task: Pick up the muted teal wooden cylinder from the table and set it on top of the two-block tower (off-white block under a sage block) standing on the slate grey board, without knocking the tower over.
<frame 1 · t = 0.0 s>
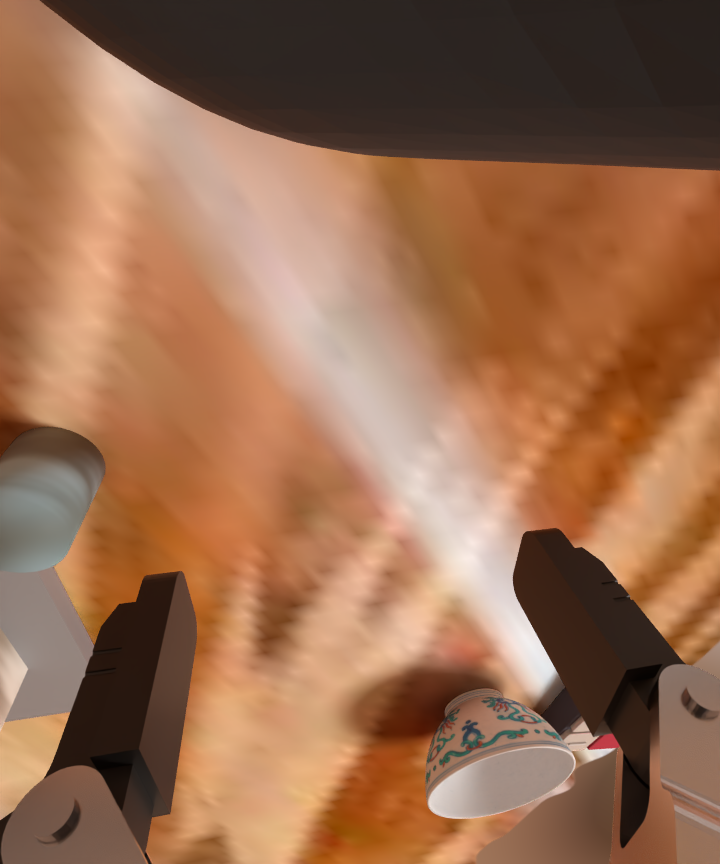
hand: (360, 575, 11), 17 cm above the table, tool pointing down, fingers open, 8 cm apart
cylinder: (58, 463, 27), on the table
chinaware: (472, 702, 52), on the table
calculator: (596, 686, 56), on the table
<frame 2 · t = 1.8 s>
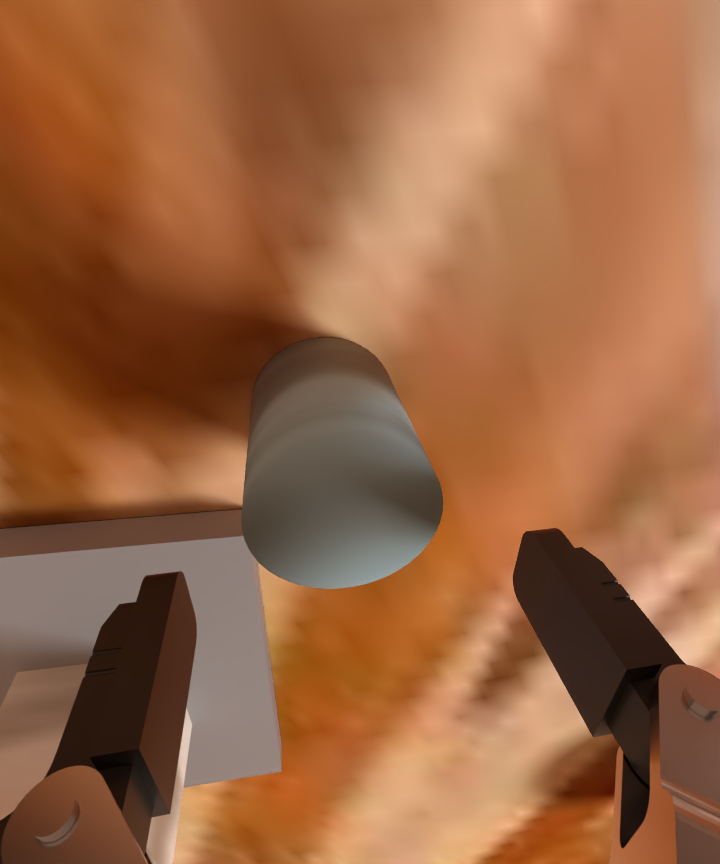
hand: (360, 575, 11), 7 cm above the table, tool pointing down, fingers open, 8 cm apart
cylinder: (324, 404, 17), on the table
base block: (112, 701, 21), point 1 cm above the table, touching top block, tower board
tower board: (121, 669, 23), on the table
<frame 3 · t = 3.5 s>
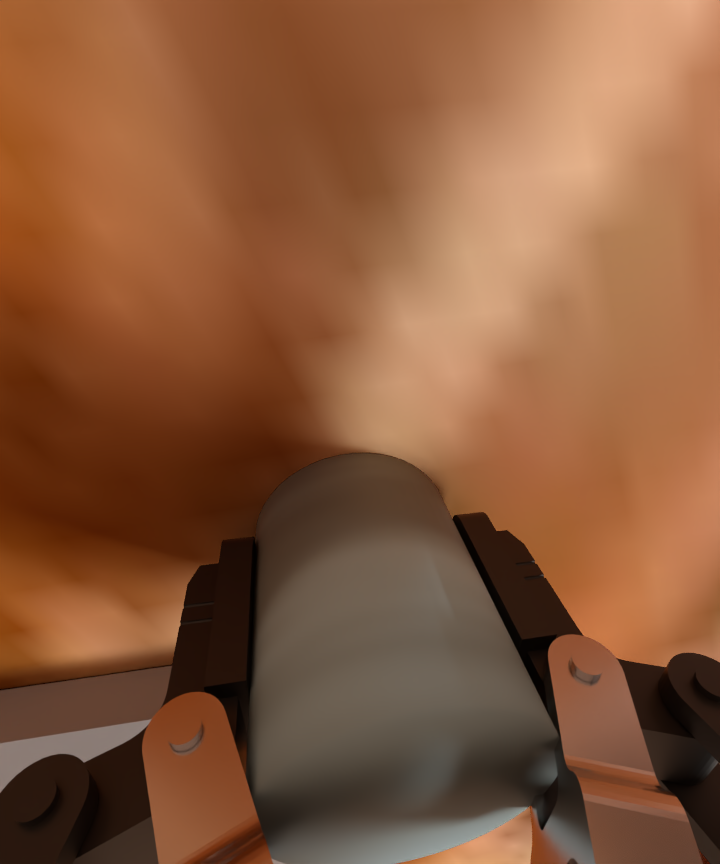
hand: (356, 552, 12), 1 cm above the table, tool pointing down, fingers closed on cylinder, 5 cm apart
cylinder: (352, 532, 12), on the table, touching gripper
tower board: (99, 829, 18), on the table
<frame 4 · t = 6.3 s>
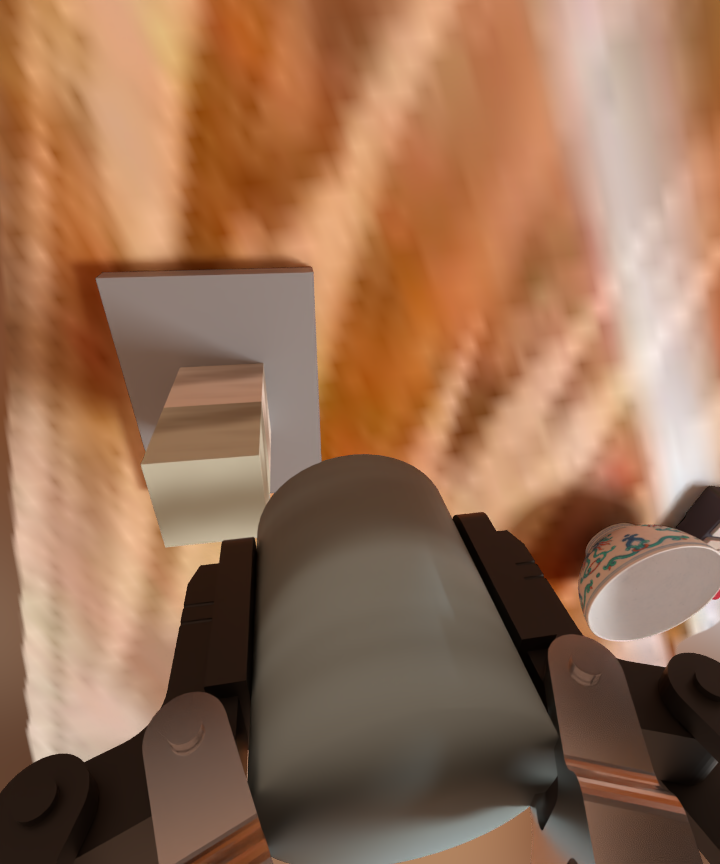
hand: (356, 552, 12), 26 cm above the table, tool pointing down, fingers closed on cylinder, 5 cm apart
cylinder: (353, 533, 12), point 25 cm above the table, touching gripper
base block: (227, 401, 36), point 1 cm above the table, touching top block, tower board
tower board: (229, 392, 37), on the table
chinaware: (611, 542, 55), on the table
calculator: (699, 535, 58), on the table
top block: (220, 443, 31), point 7 cm above the table, touching base block
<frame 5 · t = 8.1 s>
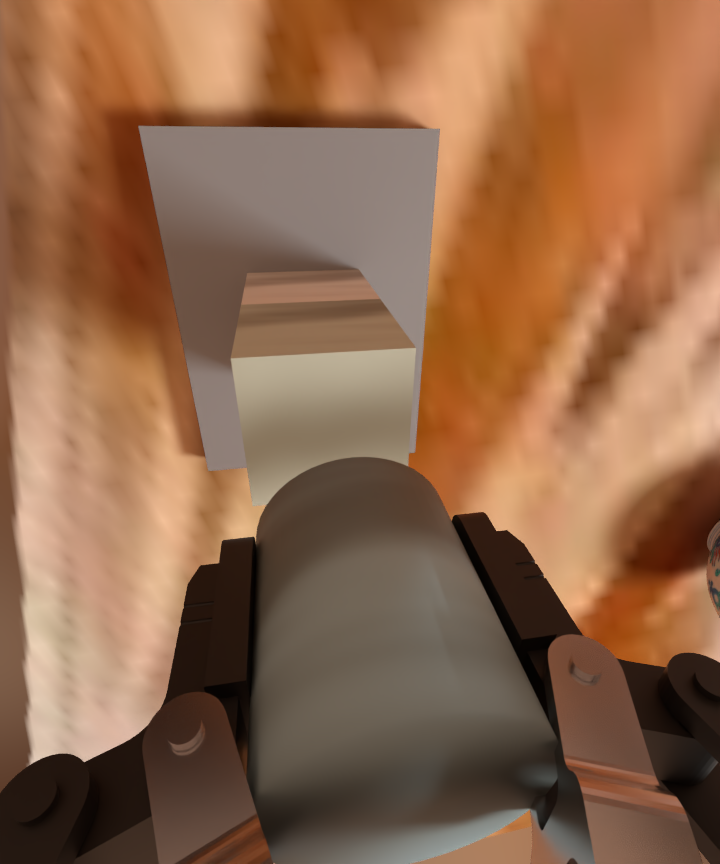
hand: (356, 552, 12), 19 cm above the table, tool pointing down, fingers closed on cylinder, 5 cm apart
cylinder: (353, 535, 12), point 19 cm above the table, touching gripper
base block: (307, 325, 27), point 1 cm above the table, touching top block, tower board
tower board: (305, 317, 28), on the table
top block: (315, 366, 22), point 7 cm above the table, touching base block
when the fingers open (16 cm above the table, at t = 9.6 s): cylinder drops 2 cm, resting on top block.
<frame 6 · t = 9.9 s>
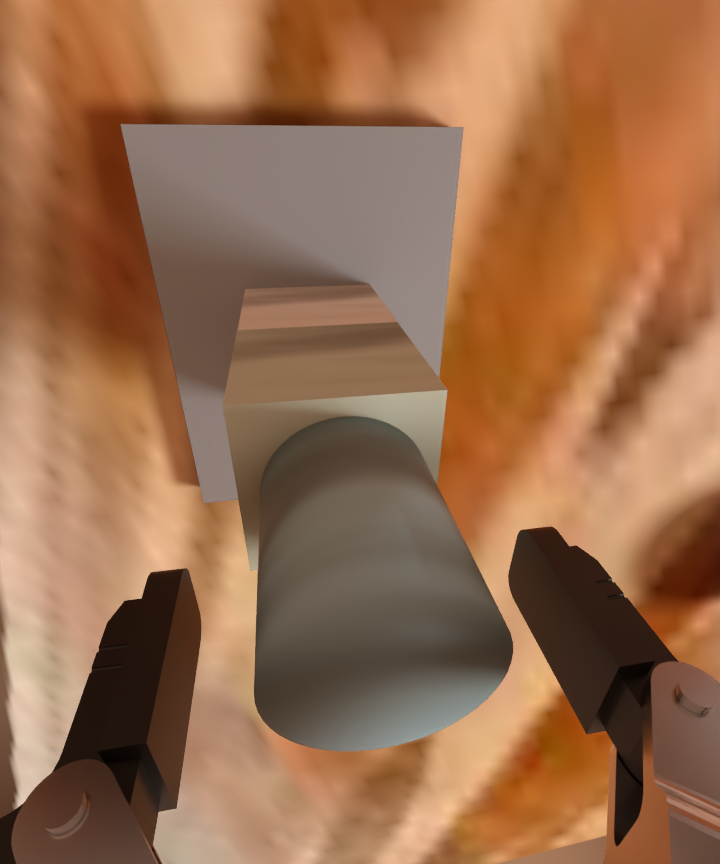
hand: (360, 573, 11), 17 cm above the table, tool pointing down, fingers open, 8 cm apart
cylinder: (345, 489, 14), point 13 cm above the table, touching top block
base block: (311, 345, 24), point 1 cm above the table, touching top block, tower board
tower board: (310, 335, 25), on the table
top block: (322, 397, 19), point 7 cm above the table, touching base block, cylinder
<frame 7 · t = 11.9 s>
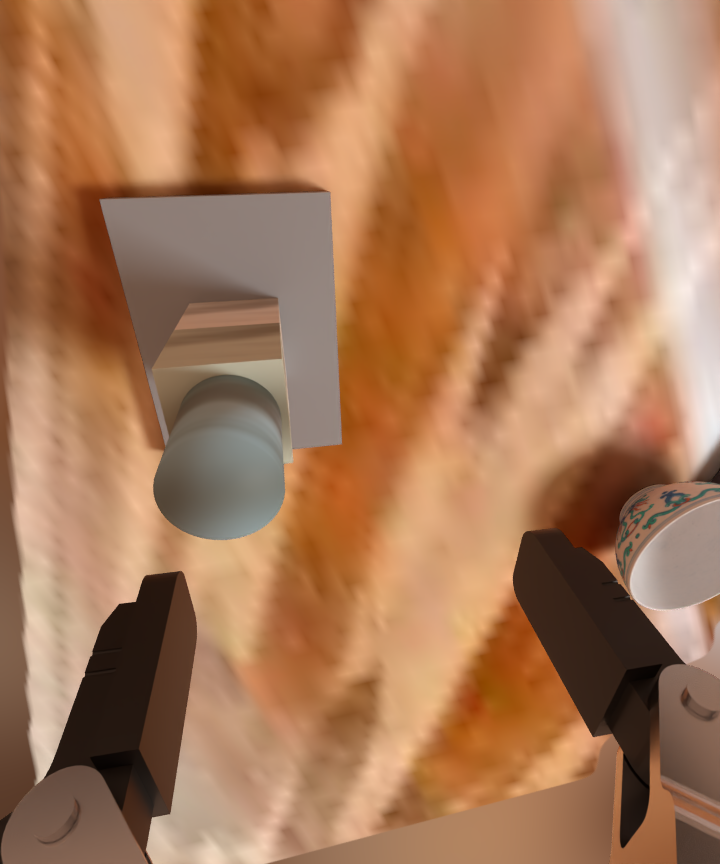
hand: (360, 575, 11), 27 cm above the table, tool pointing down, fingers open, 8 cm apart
cylinder: (231, 420, 24), point 13 cm above the table, touching top block
base block: (240, 342, 34), point 1 cm above the table, touching top block, tower board
tower board: (242, 335, 35), on the table
chinaware: (645, 507, 52), on the table
top block: (235, 374, 29), point 7 cm above the table, touching base block, cylinder
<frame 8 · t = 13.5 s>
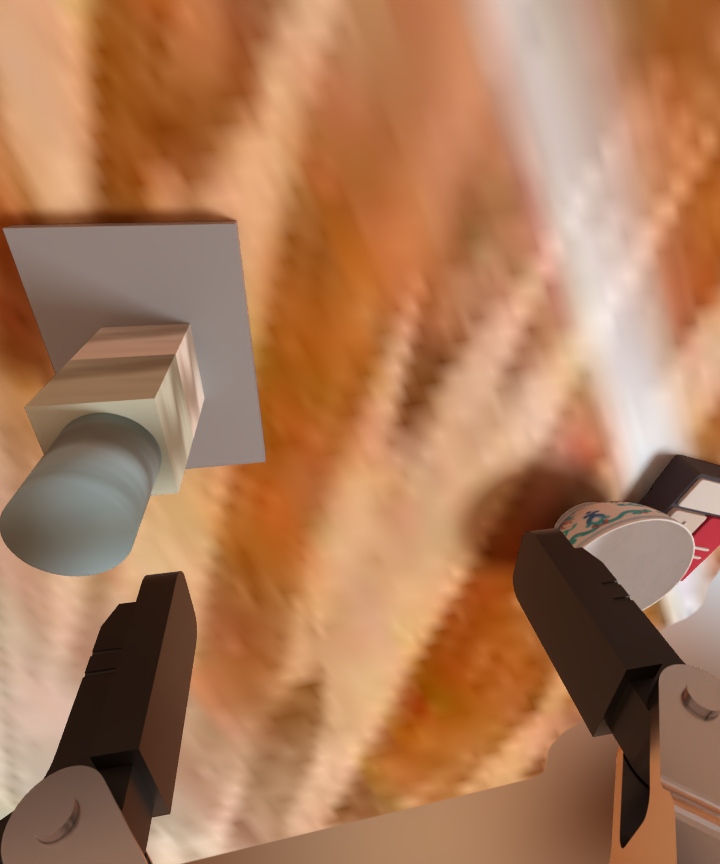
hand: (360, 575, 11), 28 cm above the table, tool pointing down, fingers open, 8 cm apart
cylinder: (110, 454, 25), point 13 cm above the table, touching top block
base block: (155, 364, 35), point 1 cm above the table, touching top block, tower board
tower board: (160, 357, 36), on the table
chinaware: (579, 523, 54), on the table, touching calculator
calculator: (666, 511, 56), on the table, touching chinaware
top block: (135, 401, 30), point 7 cm above the table, touching base block, cylinder
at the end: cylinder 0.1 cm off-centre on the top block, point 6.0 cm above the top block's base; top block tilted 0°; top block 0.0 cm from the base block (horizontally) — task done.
